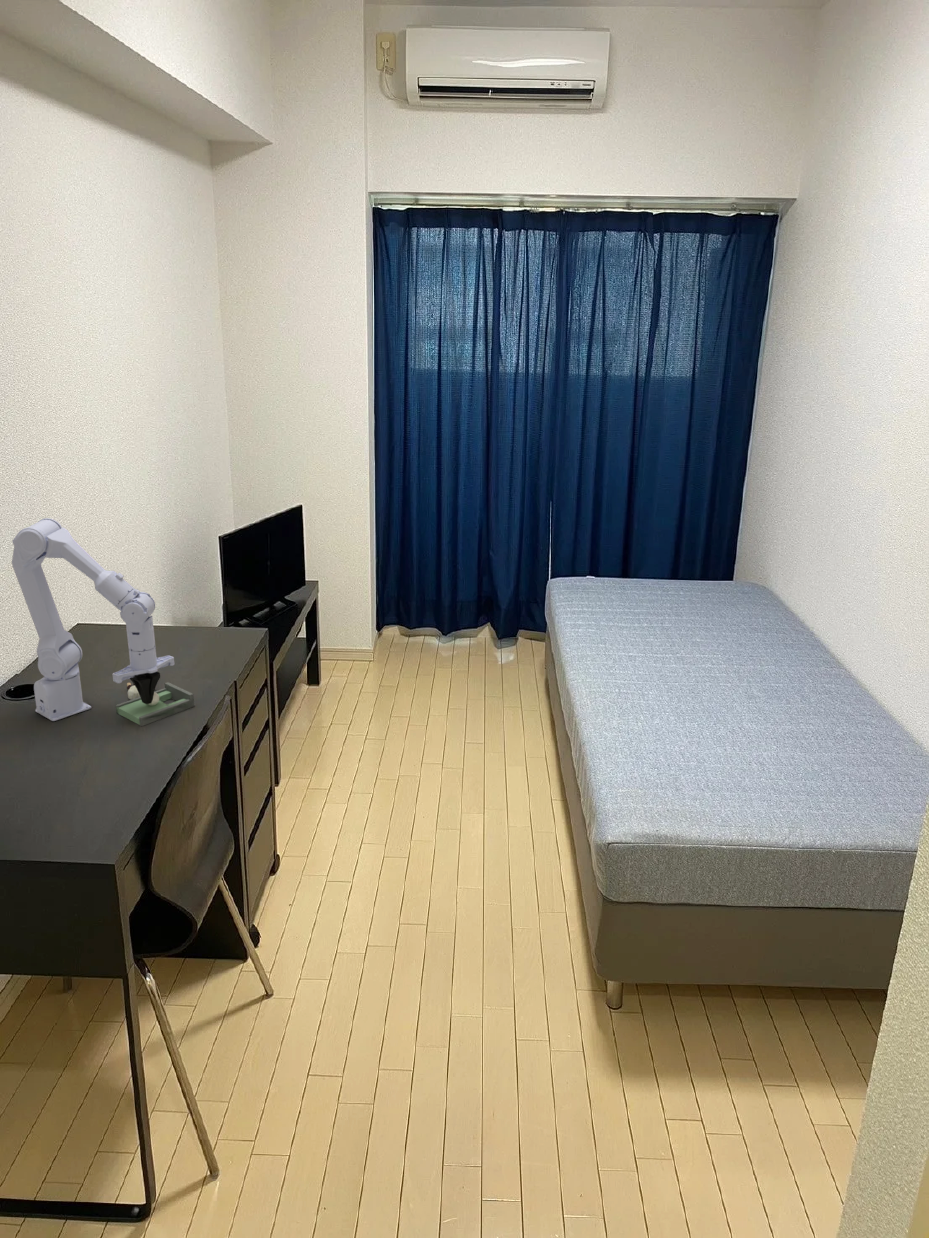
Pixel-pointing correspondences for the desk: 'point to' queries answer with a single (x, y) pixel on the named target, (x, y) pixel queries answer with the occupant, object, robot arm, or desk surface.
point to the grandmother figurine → (132, 691)
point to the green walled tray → (149, 714)
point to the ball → (154, 699)
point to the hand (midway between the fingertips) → (147, 702)
